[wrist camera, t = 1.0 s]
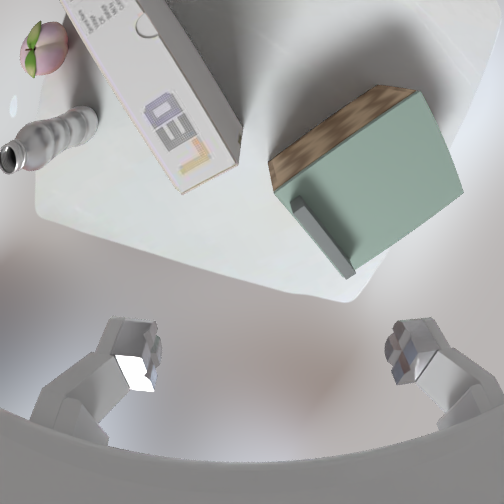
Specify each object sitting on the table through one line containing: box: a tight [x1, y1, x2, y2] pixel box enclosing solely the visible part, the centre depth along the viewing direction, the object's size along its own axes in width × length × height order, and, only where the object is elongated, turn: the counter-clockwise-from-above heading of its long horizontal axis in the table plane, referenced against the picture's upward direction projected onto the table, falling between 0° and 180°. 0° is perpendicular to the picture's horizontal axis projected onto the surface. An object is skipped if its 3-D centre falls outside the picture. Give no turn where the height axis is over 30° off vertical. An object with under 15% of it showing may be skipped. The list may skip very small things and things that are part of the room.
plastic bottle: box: [0, 106, 98, 174], centre depth 31 cm, size 6×7×20 cm
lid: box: [274, 91, 464, 279], centre depth 32 cm, size 22×16×4 cm
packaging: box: [59, 0, 243, 195], centre depth 26 cm, size 30×6×20 cm, turn 27°
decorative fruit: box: [20, 21, 68, 78], centre depth 27 cm, size 9×8×10 cm
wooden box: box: [268, 85, 416, 191], centre depth 39 cm, size 22×16×12 cm
